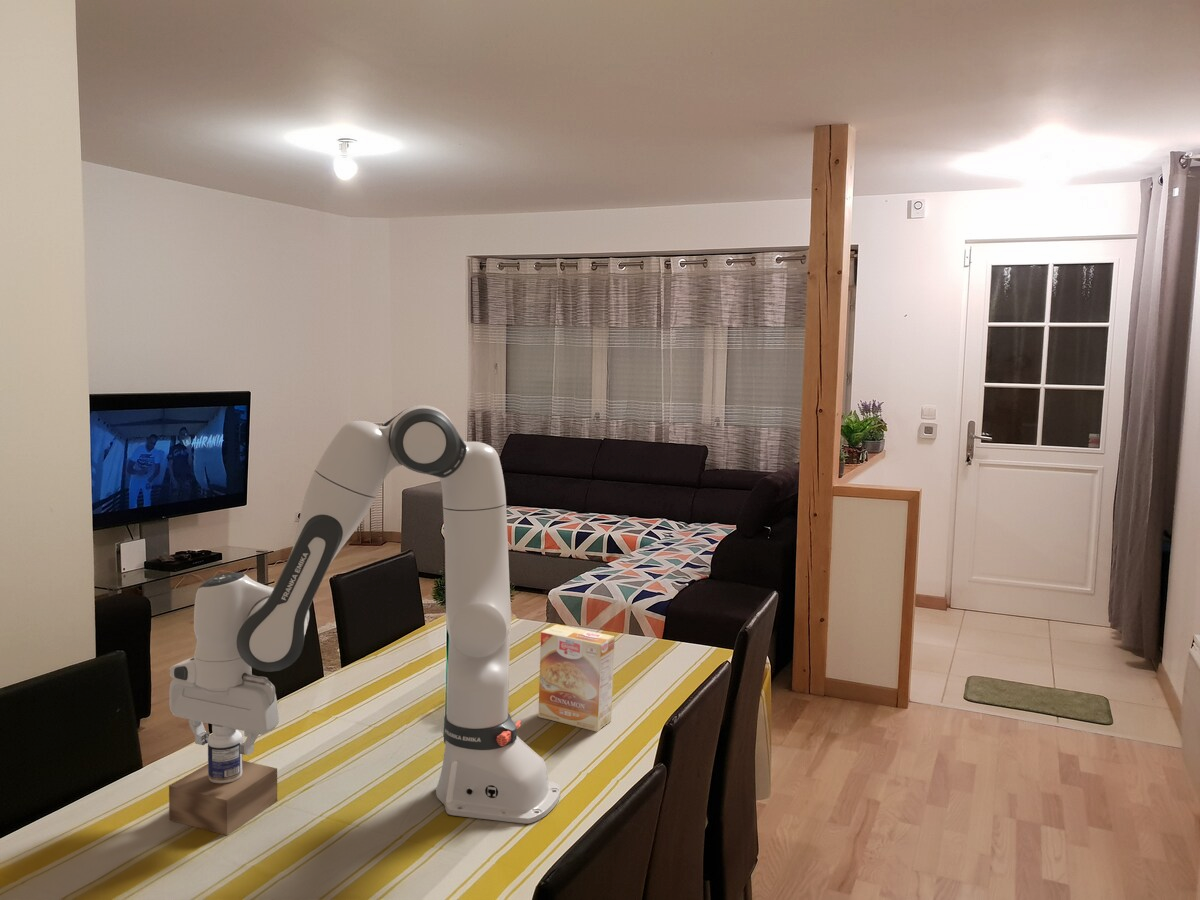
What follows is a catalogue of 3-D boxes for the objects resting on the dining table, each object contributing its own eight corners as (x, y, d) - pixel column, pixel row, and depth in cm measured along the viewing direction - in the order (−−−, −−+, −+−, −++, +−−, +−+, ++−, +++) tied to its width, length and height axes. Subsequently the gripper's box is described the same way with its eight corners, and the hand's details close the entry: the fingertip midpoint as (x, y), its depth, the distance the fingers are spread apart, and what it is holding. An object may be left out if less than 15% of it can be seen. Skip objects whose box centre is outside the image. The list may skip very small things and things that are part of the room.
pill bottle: (214, 769, 152) (214, 715, 151) (246, 769, 153) (246, 715, 151) (203, 784, 147) (202, 728, 146) (236, 784, 147) (236, 728, 146)
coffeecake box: (537, 717, 193) (539, 631, 191) (553, 706, 200) (556, 623, 198) (597, 732, 187) (600, 643, 184) (612, 721, 193) (615, 634, 191)
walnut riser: (277, 801, 154) (277, 768, 153) (227, 835, 143) (226, 800, 142) (222, 787, 158) (222, 755, 157) (169, 820, 147) (168, 785, 146)
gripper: (287, 672, 147) (287, 751, 149) (190, 655, 154) (191, 730, 155) (260, 685, 141) (261, 767, 143) (161, 666, 148) (163, 745, 149)
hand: (224, 748), depth 149 cm, fingers open, 8 cm apart
